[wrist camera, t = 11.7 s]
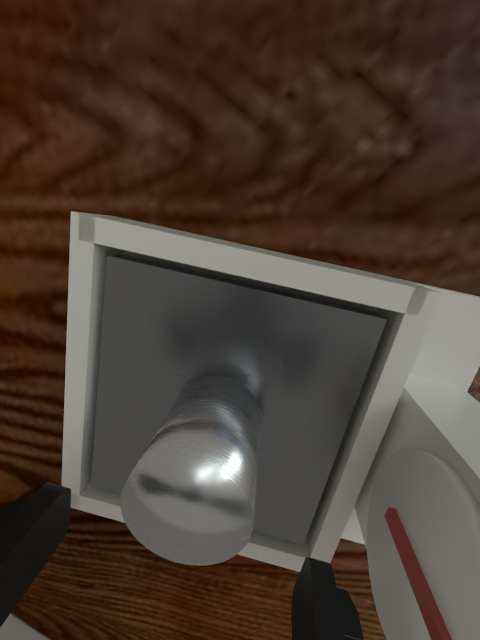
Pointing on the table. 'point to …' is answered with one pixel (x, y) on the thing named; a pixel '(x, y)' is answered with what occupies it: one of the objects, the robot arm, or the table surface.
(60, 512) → the robot arm
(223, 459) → the cylinder
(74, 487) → the scale
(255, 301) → the scale pan
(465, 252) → the table surface
